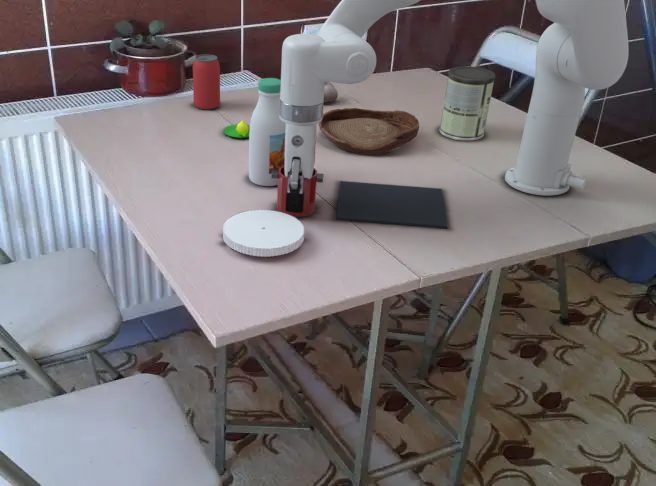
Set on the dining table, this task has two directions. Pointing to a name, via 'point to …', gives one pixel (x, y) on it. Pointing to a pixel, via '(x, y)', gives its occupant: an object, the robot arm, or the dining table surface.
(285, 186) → the pot
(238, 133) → the lemon on green saucer
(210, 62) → the beer can
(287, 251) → the plastic lid
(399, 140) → the basket
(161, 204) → the dining table surface
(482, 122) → the coffee can
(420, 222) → the mat
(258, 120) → the milk bottle
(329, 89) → the garlic bulb
